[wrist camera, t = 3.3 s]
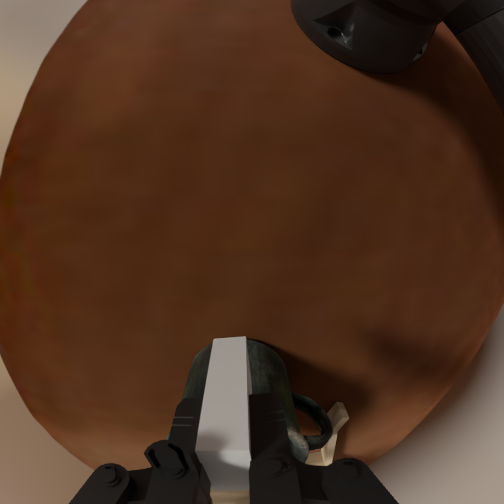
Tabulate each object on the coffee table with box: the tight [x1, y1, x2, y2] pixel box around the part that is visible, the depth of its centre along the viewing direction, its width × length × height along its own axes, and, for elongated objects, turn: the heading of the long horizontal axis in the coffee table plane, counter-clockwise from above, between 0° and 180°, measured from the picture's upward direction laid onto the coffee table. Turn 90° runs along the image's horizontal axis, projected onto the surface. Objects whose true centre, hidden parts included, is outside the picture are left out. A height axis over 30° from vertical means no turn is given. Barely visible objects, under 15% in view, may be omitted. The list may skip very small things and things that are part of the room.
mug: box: [166, 339, 333, 463], centre depth 23 cm, size 11×15×12 cm
